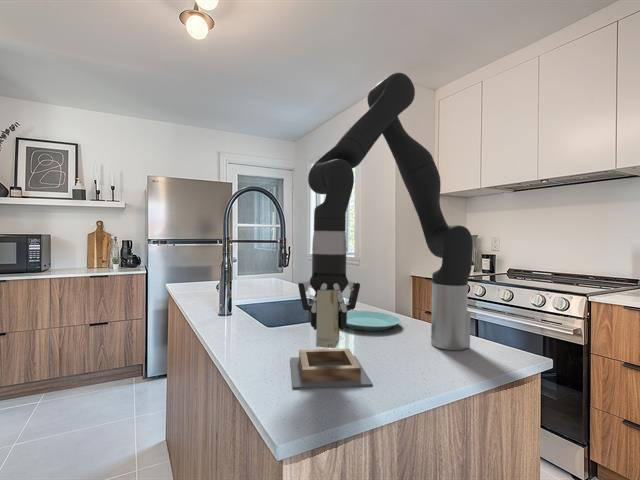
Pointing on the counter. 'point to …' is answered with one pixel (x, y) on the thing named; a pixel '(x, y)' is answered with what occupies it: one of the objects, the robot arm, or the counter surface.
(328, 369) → the collar
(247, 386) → the counter surface
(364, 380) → the mat
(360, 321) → the plate
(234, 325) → the counter surface
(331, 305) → the skincare box
